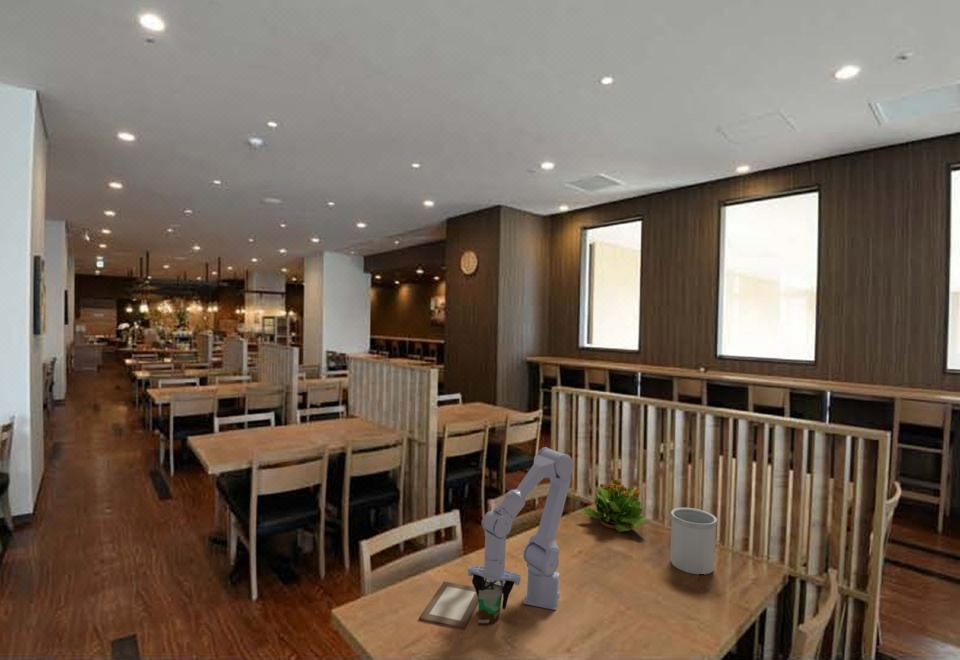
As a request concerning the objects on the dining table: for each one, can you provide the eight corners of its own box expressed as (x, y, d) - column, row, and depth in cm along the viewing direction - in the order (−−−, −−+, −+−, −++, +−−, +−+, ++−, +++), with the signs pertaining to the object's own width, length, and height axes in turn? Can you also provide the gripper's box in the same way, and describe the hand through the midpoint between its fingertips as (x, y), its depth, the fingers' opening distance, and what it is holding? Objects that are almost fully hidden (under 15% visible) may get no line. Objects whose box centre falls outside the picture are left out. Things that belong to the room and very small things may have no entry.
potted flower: (581, 531, 197) (583, 487, 197) (579, 509, 221) (581, 470, 220) (647, 539, 193) (649, 494, 193) (638, 515, 217) (640, 475, 216)
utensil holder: (667, 569, 170) (670, 518, 169) (668, 551, 183) (671, 504, 183) (715, 580, 164) (718, 527, 164) (713, 560, 178) (715, 511, 177)
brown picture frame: (484, 591, 151) (484, 589, 151) (464, 629, 132) (464, 627, 132) (443, 583, 155) (443, 581, 155) (418, 619, 135) (418, 617, 135)
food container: (499, 632, 131) (501, 594, 131) (476, 628, 133) (478, 591, 132) (506, 606, 144) (508, 572, 143) (485, 603, 145) (487, 569, 145)
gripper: (465, 558, 136) (463, 607, 136) (517, 567, 132) (515, 618, 132) (472, 547, 143) (470, 594, 143) (522, 555, 139) (520, 603, 139)
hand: (492, 604), depth 138 cm, fingers open, 6 cm apart
